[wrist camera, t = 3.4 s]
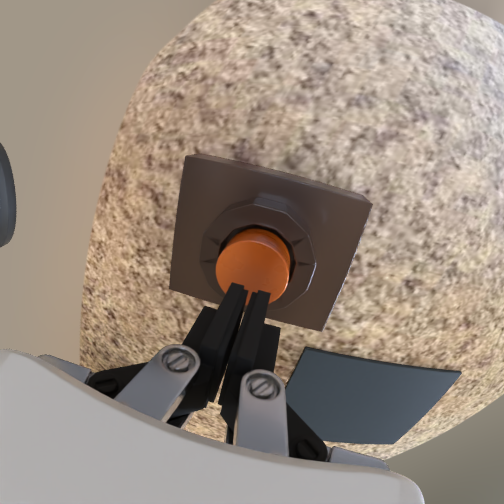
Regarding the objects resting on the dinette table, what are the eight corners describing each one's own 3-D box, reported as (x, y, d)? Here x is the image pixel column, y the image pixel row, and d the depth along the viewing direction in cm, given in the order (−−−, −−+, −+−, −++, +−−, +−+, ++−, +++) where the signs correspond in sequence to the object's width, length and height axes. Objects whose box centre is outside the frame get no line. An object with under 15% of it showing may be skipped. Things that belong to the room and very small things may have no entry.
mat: (262, 428, 30) (262, 430, 30) (305, 346, 24) (305, 349, 23) (392, 442, 29) (393, 444, 29) (460, 371, 22) (461, 373, 22)
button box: (182, 273, 23) (158, 301, 19) (199, 153, 19) (172, 157, 15) (320, 312, 22) (323, 348, 18) (363, 195, 18) (381, 211, 14)
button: (219, 279, 18) (210, 295, 16) (231, 220, 16) (221, 231, 14) (280, 295, 17) (277, 314, 16) (298, 238, 16) (297, 252, 14)
